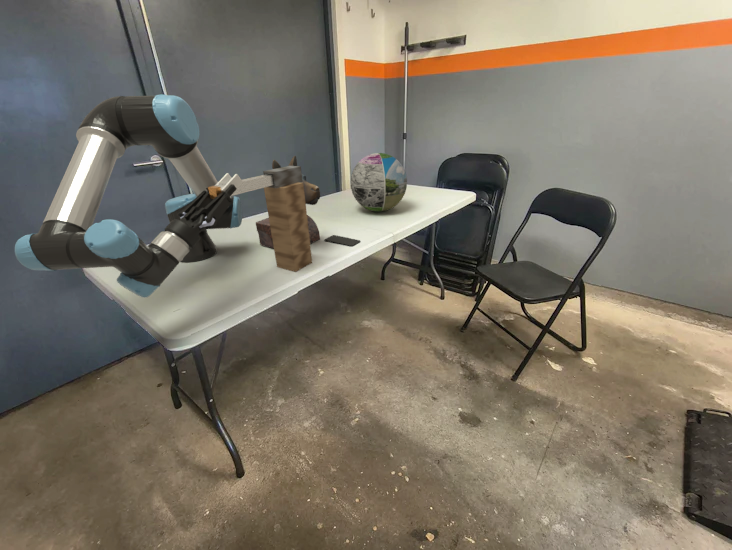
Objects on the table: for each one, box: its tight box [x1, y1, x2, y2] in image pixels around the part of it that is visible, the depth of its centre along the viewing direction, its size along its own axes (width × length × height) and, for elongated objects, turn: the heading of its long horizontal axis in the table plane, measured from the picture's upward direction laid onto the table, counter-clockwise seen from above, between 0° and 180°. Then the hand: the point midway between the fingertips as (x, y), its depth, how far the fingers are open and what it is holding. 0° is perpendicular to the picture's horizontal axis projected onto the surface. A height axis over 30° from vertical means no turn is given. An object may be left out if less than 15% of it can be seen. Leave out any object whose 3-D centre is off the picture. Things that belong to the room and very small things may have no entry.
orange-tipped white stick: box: [208, 174, 275, 199], centre depth 95 cm, size 23×3×3 cm, turn 148°
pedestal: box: [262, 165, 313, 273], centre depth 113 cm, size 12×9×34 cm
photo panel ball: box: [350, 152, 408, 213], centre depth 174 cm, size 30×30×30 cm
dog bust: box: [255, 155, 321, 249], centre depth 130 cm, size 19×28×35 cm, turn 57°
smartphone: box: [323, 234, 361, 248], centre depth 140 cm, size 7×1×15 cm
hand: (234, 177), depth 91 cm, fingers closed on orange-tipped white stick, 3 cm apart
